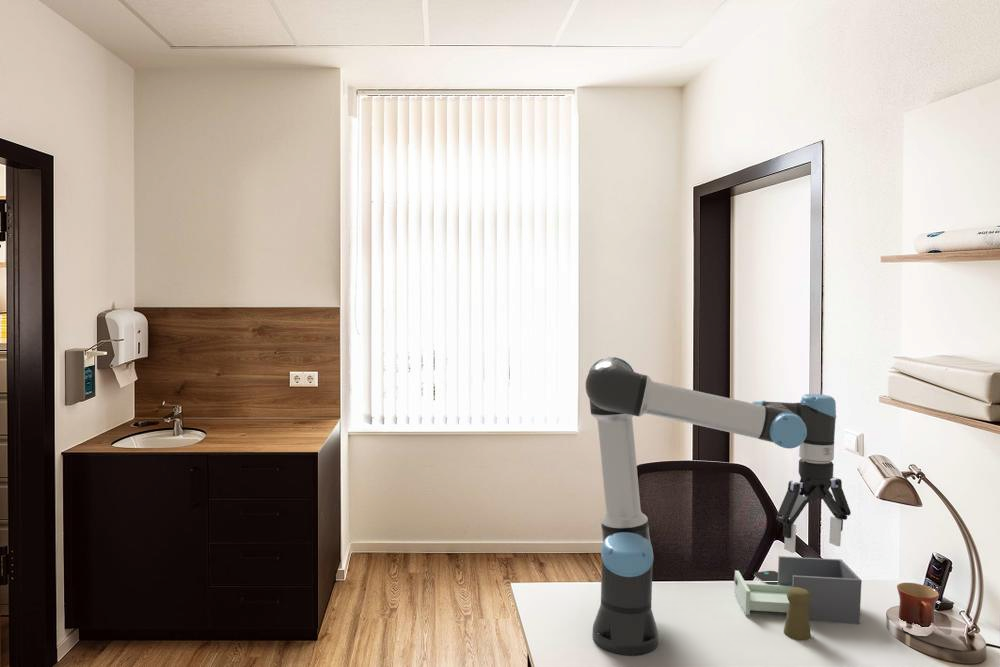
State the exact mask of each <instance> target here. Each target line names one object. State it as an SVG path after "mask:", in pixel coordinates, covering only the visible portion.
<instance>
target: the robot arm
mask: <svg viewBox="0 0 1000 667" xmlns="http://www.w3.org/2000/svg"><path fill="white" fill-rule="evenodd" d="M585 380H586V381H585V391H586V392H585V393H586V395H587V397H588V400H589V408H590V415H591V416H593V417H594V418H595V419H596V420H597V426H598V427H597V428H598V439H599V449H600V450H599V451H600V460H601V470H602V471H601V472H602V481H603V482H602V483H603V492H604V500H605V501H604V503H605V514H604V515H603V517H602V518H601V519H600V521H601V522H600V525H601V532H602V533H601V536H602V546H601V550H600V557H601V573H600V574H601V577H600V578H601V581H600V583H601V584H600V605H599V608H598V611H597V613H596V616H595V619H594V621H593V624H592V639H593V641H594V643H595V644H596V645H597V646H599V647H600V648H602V649H603V650H606V651H608V652H611V653H615V654H619V655H627V656H636V655H644V654H647V653H650V652H652V651H654V650H656V648H657V647H658V645H659V631H658V630H659V629H658V628H657V624H656V621H655V616H654V613H653V610H652V600H653V599H652V597H653V596H652V595H653V594H652V593H653V589H652V588H653V564H654V552H653V546H652V541H651V537H650V528H649V518H648V516H647V515H646V514H645V513H643V511H642V510H641V498H640V489H639V488H640V486H639V477H638V467H637V465H638V463H637V456H636V455H637V454H636V444H635V435H634V434H635V432H634V423H633V417H634V416H635V417H638V418H639V417H640V418H641V417H642V416H643V415H650V416H655V417H660V418H665V419H667V420H668V419H669V420H673V421H678V422H681V423H687V424H690V425H696V426H700V427H705V428H709V429H714V430H719V431H723V432H727V433H732V434H735V435H740V436H744V437H749V438H754V439H757V440H761V441H765V442H769V443H774V444H775V445H777V446H778V447H781V448H783V449H794V448H798V447H799V449H798V450H799V451H798V452H799V453H798V456H799V458H800V459H799V460H798V475H799V476H800V479H799V481H798V482H797V481H796V482H795V481H793V480H789V481H788V483H787V484H788V485H787V491H786V493H785V496H784V498H783V500H782V502H781V505H780V507H779V509H778V512H777V514H776V516H775V519H776V520H777V522H780V523H783V525H782V526H783V527H782V536H783V537H784V541H783V542H784V545H783V546H784V547H783V548H784V550H786V551H788V552H790V553H792V554H794V553H796V539H797V538H796V533H797V525H796V524H795V522H796V521H797V518H798V517H799V516H800V514H801V512H802V511H803V510H804V508H805V507H806V506H807V504H810V502H812V501H816V500H822V501H823V502H824V503H825V506H826V507H828V510H829V511H830V512H831V514H832V516H830V519H829V539H828V541H829V544H831V545H833V546H835V547H841V542H842V541H841V538H842V532H843V529H844V528H843V525H844V520H845V521H846V520H847V519H848V516H851V509H850V507H849V503H848V500H847V499H846V495H845V493H844V490H843V485H842V484H843V483H842V481H843V480H842V478H841V479H840V478H838V477H834V463H833V462H832V461H833V460H834V457H835V435H836V434H835V432H836V421H837V420H836V419H837V410H836V409H837V407H836V404H837V402H836V400H835V398H834V397H832V396H831V395H828V394H827V395H825V394H816V393H815V394H814V393H811V394H810V393H809V394H808V393H805V394H804V395H802V396H801V400H800V402H783V401H781V402H780V401H766V400H762V401H751V402H748V401H743V400H739V399H735V398H730V397H725V396H722V395H721V396H720V395H716V394H711V393H708V392H707V393H706V392H702V391H698V390H694V389H689V388H685V387H679V386H675V385H671V384H666V383H661V382H657V381H653V380H652V378H651V377H650V376H649V375H648V374H647V375H645V374H641V373H638V372H635V371H634V369H633V367H632V365H630V364H629V363H628V362H627V361H626V360H624V359H622V358H619V357H614V356H613V357H611V356H608V357H604V358H601V359H599V360H597V361H595V363H593V364H592V366H591V367H590V369H589V370H588V374H587V376H586V379H585ZM830 490H831V491H830Z"/></svg>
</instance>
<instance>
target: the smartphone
mask: <svg viewBox="0 0 1000 667" xmlns="http://www.w3.org/2000/svg"><path fill="white" fill-rule="evenodd" d="M753 576H754V578H756V579H758V580H759V581H761V582H762V581H778V571H775V570H766V571H757V572H756V571H755V572H754V573H753ZM763 583H764V584H767V585H778V582H763Z"/></svg>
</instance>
